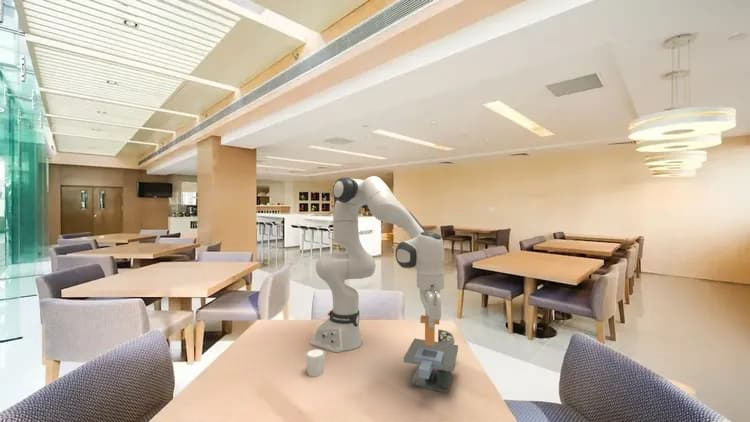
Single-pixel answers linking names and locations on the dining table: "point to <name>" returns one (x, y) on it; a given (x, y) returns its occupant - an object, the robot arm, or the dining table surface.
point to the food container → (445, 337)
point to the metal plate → (437, 378)
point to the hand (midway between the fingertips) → (429, 324)
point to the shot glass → (315, 362)
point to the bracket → (427, 361)
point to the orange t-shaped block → (429, 330)
